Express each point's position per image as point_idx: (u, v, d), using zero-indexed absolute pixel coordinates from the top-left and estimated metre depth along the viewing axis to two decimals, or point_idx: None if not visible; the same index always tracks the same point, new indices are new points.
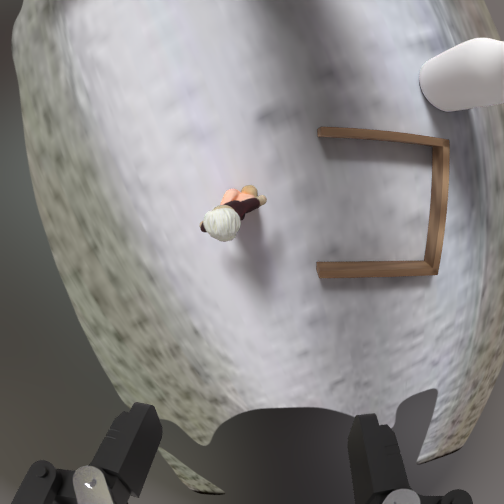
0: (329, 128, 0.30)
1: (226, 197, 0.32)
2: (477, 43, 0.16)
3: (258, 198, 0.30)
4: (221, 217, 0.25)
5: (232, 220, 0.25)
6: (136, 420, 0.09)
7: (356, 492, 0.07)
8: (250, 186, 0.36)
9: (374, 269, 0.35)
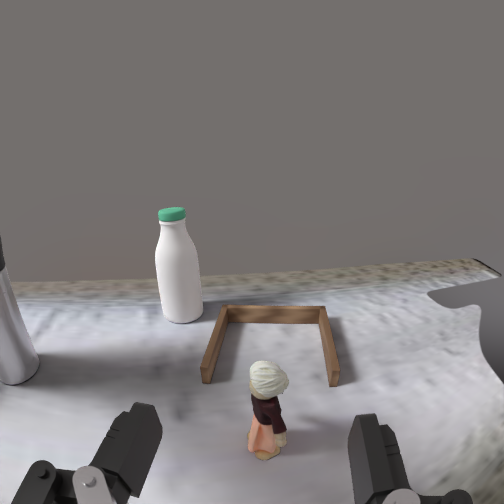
0: (202, 362, 0.37)
1: (251, 428, 0.25)
2: (159, 251, 0.48)
3: None
4: (257, 364, 0.23)
5: None
6: (136, 420, 0.09)
7: (356, 492, 0.07)
8: (248, 433, 0.28)
9: (326, 339, 0.41)
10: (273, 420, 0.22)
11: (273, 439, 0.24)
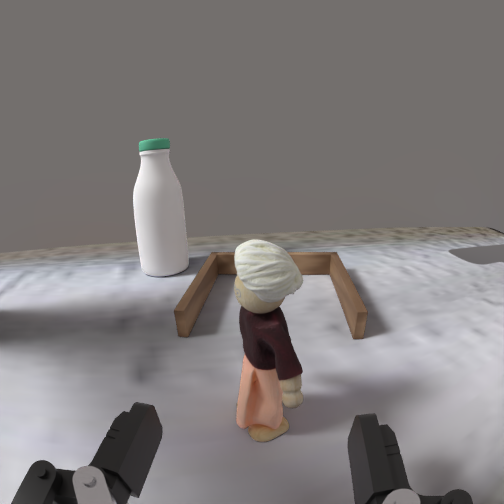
0: (178, 305, 0.28)
1: (241, 382, 0.16)
2: (137, 186, 0.39)
3: None
4: (247, 241, 0.14)
5: None
6: (136, 420, 0.09)
7: (356, 492, 0.07)
8: None
9: (343, 281, 0.32)
10: (278, 351, 0.13)
11: (278, 401, 0.15)
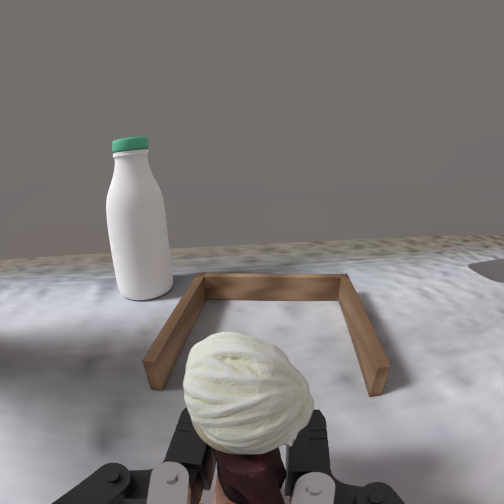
0: (148, 353, 0.21)
1: (214, 498, 0.09)
2: (109, 195, 0.32)
3: None
4: (210, 340, 0.07)
5: None
6: None
7: None
8: None
9: (357, 317, 0.25)
10: None
11: None
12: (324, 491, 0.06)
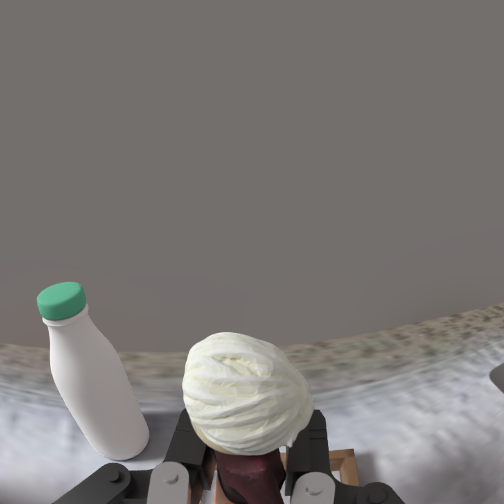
0: None
1: (214, 498, 0.09)
2: (51, 366, 0.21)
3: None
4: (210, 341, 0.07)
5: None
6: None
7: None
8: None
9: None
10: None
11: None
12: (324, 491, 0.06)
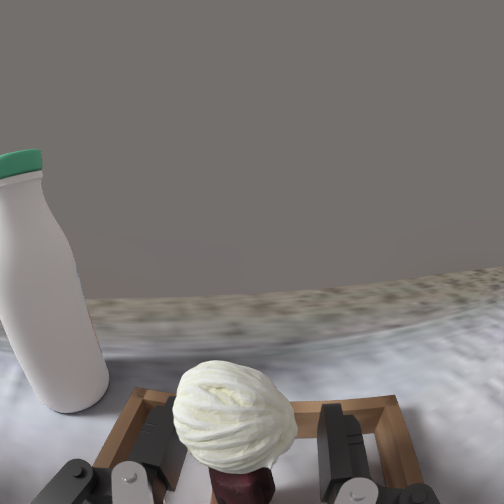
0: None
1: None
2: None
3: None
4: (199, 369, 0.07)
5: None
6: None
7: (321, 480, 0.08)
8: None
9: None
10: None
11: None
12: (368, 496, 0.06)
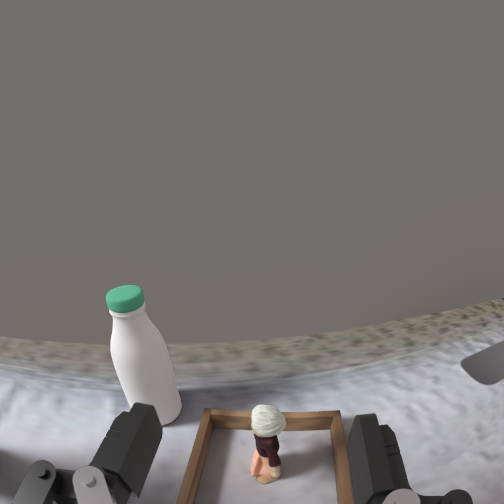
0: None
1: (253, 457, 0.26)
2: (113, 348, 0.32)
3: None
4: (258, 408, 0.24)
5: None
6: (136, 420, 0.09)
7: (356, 492, 0.07)
8: None
9: (340, 471, 0.25)
10: (269, 455, 0.23)
11: None
12: None
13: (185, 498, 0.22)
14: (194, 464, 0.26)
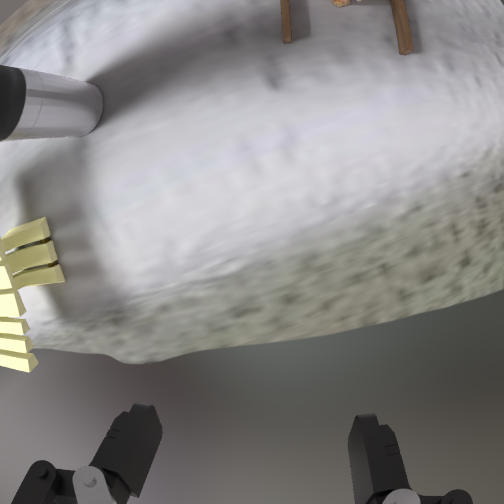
0: (284, 29, 0.29)
1: None
2: None
3: None
4: None
5: None
6: (136, 420, 0.09)
7: (356, 492, 0.07)
8: None
9: (399, 7, 0.26)
10: None
11: None
12: None
13: (288, 19, 0.29)
14: None
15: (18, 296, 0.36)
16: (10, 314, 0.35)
